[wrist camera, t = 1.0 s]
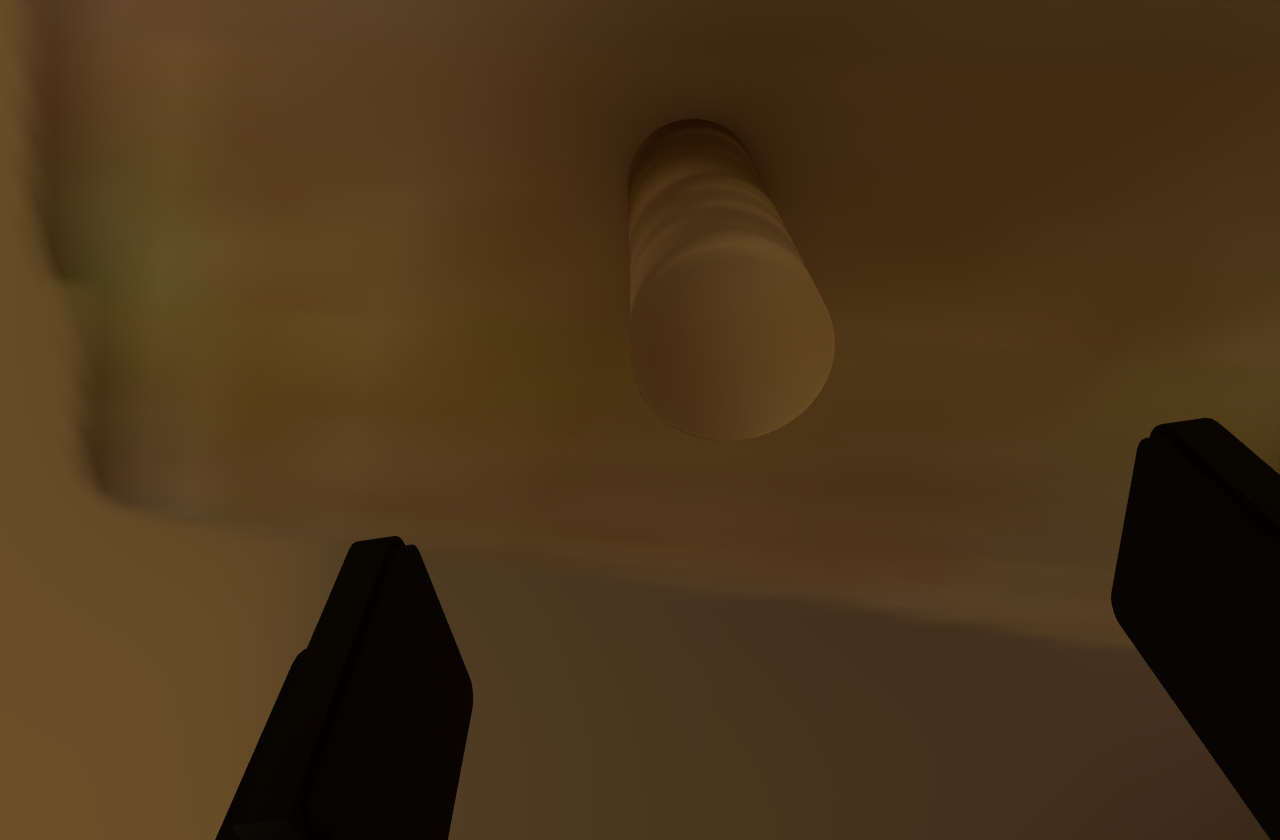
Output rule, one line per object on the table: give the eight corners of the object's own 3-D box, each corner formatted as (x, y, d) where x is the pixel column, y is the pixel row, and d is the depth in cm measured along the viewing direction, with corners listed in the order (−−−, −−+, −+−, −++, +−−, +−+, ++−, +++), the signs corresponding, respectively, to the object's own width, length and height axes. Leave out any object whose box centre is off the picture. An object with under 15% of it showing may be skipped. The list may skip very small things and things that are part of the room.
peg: (746, 108, 25) (830, 241, 15) (758, 233, 27) (839, 425, 17) (618, 131, 26) (614, 277, 15) (639, 253, 28) (649, 454, 17)
